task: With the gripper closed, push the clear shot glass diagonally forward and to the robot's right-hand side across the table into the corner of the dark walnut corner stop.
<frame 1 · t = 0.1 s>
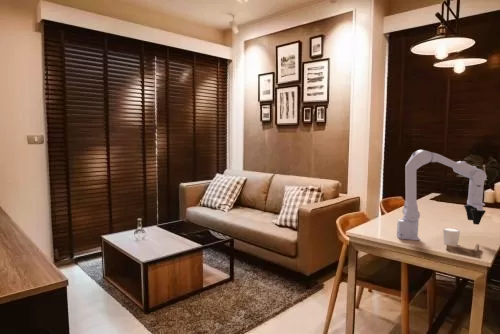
hand: (473, 222, 160), 10 cm above the table, tool pointing down, fingers open, 7 cm apart
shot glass: (450, 244, 159), on the table
corner stop: (473, 255, 145), on the table
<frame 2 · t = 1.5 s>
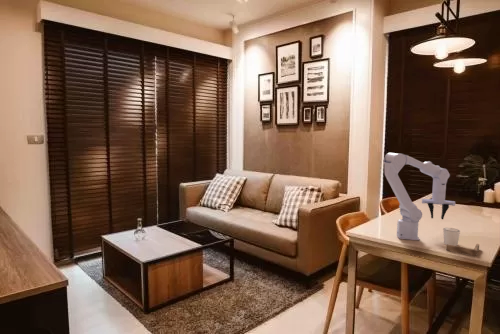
hand: (437, 218, 169), 9 cm above the table, tool pointing down, fingers open, 4 cm apart
nothing on the table moved.
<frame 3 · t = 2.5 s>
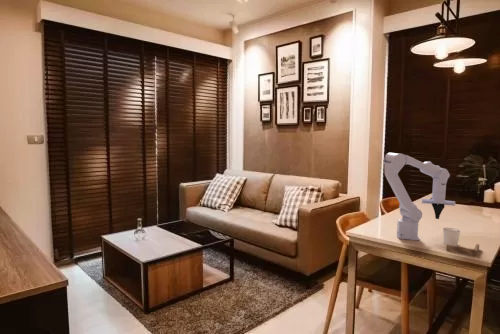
hand: (437, 218, 169), 9 cm above the table, tool pointing down, fingers closed
nothing on the table moved.
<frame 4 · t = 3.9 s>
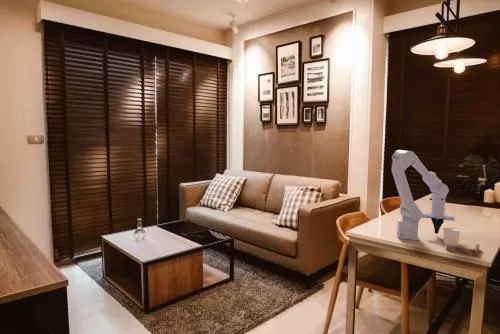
hand: (436, 233, 169), 2 cm above the table, tool pointing down, fingers closed
nothing on the table moved.
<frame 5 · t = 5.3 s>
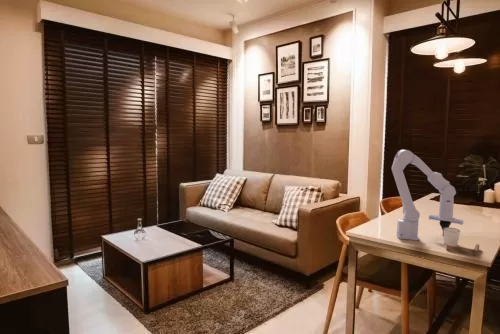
hand: (444, 236, 164), 2 cm above the table, tool pointing down, fingers closed, pressing on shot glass
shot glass: (450, 244, 159), on the table, touching gripper
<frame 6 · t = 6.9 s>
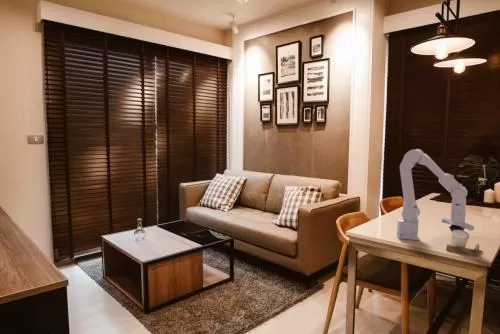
hand: (456, 241, 156), 2 cm above the table, tool pointing down, fingers closed, pressing on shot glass
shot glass: (457, 246, 153), point 1 cm above the table, touching gripper
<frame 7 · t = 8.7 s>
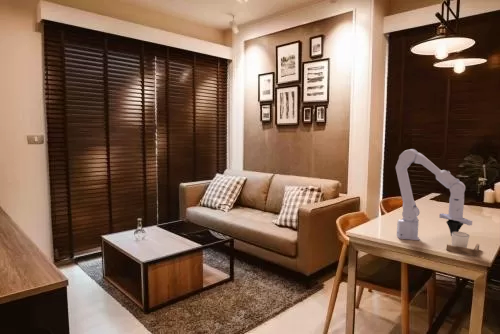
hand: (453, 236, 157), 4 cm above the table, tool pointing down, fingers closed
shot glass: (458, 249, 152), on the table, touching gripper
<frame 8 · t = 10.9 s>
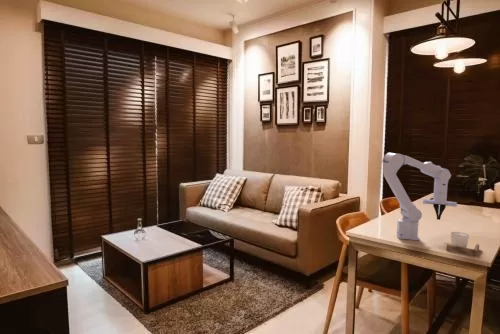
hand: (438, 219, 167), 9 cm above the table, tool pointing down, fingers closed
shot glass: (458, 249, 152), on the table
at the end: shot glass 7.7 cm from the corner stop (horizontally); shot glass tilted 0°; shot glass moved 6.9 cm from its start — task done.
